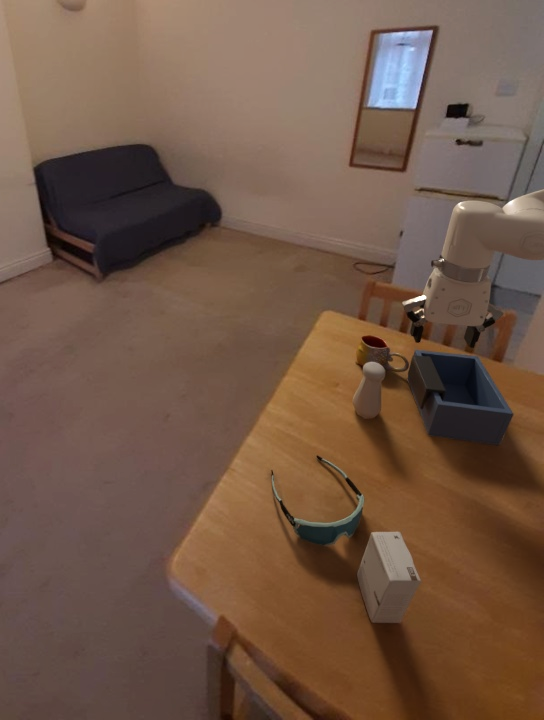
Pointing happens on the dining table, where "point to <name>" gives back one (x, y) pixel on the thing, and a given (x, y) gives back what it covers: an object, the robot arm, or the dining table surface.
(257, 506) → the dining table surface
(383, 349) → the mug
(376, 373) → the salt shaker
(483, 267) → the robot arm
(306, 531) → the sunglasses
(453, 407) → the box
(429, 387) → the black channel
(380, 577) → the cosmetic box
